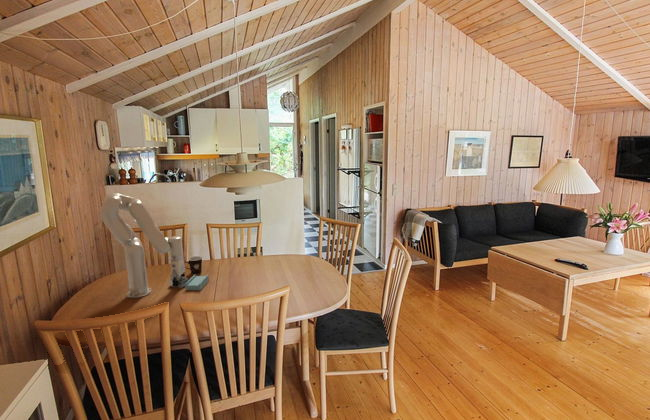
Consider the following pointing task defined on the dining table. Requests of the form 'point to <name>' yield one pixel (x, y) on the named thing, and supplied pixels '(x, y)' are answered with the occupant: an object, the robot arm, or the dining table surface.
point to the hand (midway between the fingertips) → (179, 283)
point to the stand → (197, 282)
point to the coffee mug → (195, 264)
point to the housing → (180, 281)
